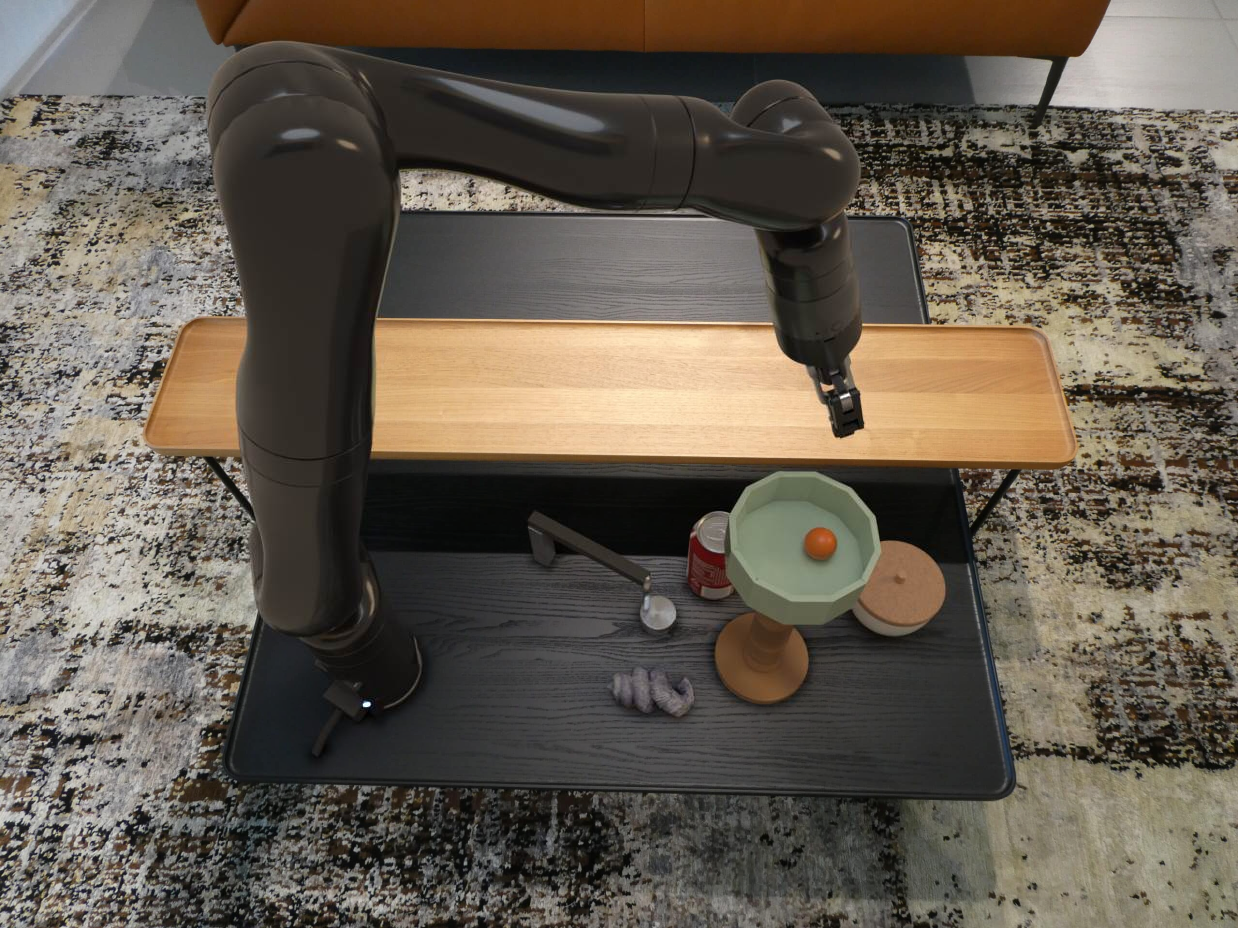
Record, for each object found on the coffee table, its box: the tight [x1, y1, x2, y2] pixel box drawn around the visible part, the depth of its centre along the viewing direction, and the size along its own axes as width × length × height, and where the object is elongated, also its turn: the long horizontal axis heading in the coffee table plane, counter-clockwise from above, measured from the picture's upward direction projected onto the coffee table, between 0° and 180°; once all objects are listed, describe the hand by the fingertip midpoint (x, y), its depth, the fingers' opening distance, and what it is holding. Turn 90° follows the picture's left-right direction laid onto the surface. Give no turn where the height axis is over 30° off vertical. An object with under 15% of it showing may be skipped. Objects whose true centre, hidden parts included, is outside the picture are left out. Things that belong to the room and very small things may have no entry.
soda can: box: [685, 510, 737, 601], centre depth 102 cm, size 7×7×12 cm
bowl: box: [724, 470, 882, 626], centre depth 77 cm, size 13×13×5 cm
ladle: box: [526, 510, 677, 637], centre depth 102 cm, size 20×4×10 cm, turn 59°
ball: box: [804, 527, 837, 560], centre depth 78 cm, size 3×3×3 cm
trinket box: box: [850, 540, 946, 637], centre depth 100 cm, size 11×11×9 cm
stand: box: [714, 610, 810, 705], centre depth 90 cm, size 11×11×26 cm
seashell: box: [607, 664, 695, 718], centre depth 96 cm, size 5×5×10 cm
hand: (830, 398), depth 85 cm, fingers open, 8 cm apart
